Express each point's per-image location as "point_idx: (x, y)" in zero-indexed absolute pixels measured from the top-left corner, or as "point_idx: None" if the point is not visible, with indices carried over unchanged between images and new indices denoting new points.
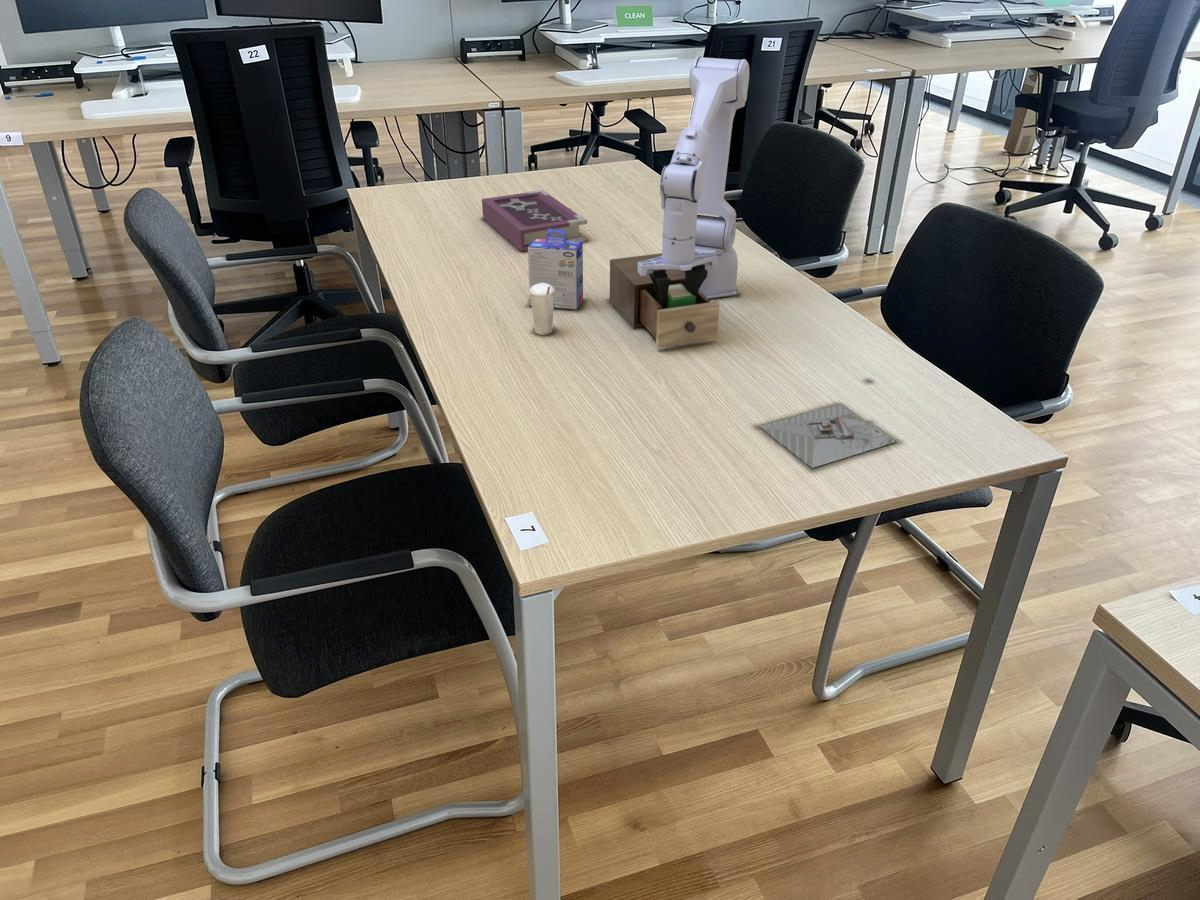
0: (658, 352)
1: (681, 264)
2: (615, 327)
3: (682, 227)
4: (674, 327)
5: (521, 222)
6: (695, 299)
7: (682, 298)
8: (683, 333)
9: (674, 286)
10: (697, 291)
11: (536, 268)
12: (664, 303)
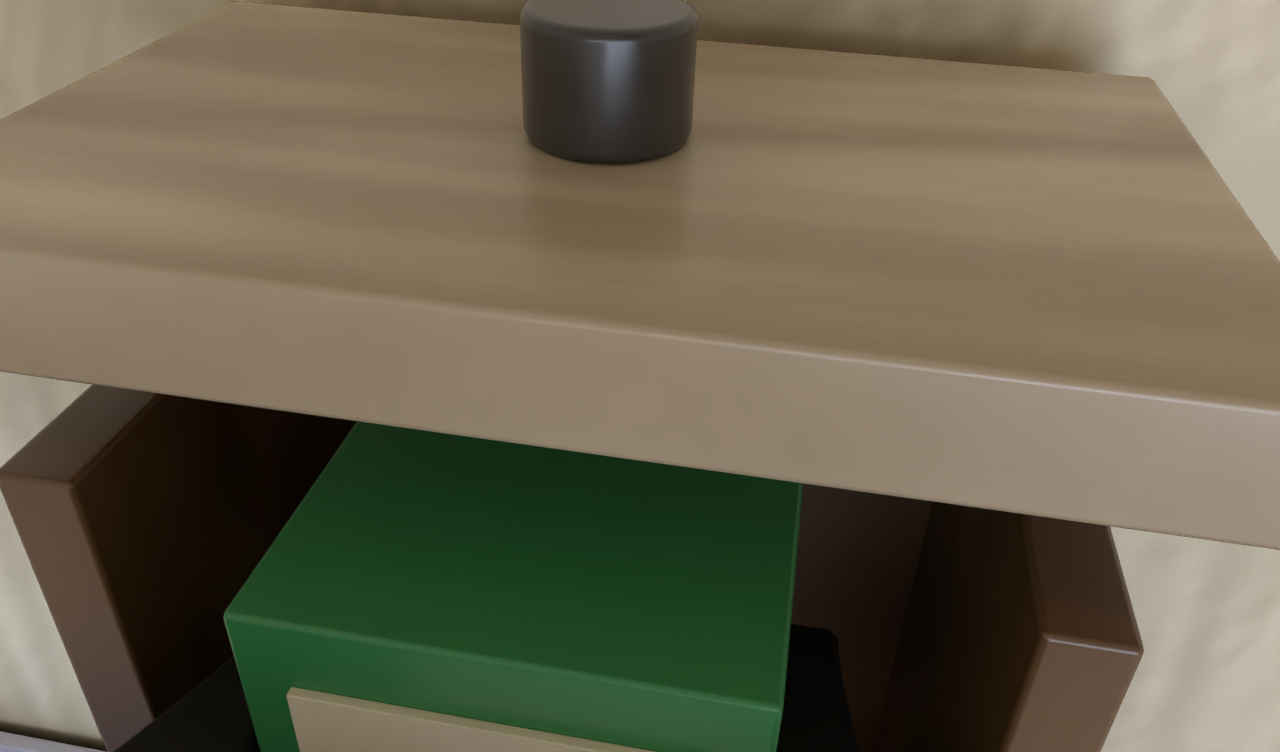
0: (1127, 55)
1: None
2: (1146, 740)
3: None
4: (902, 166)
5: None
6: (255, 571)
7: (524, 668)
8: (722, 99)
9: None
10: (138, 740)
11: None
12: (834, 733)
